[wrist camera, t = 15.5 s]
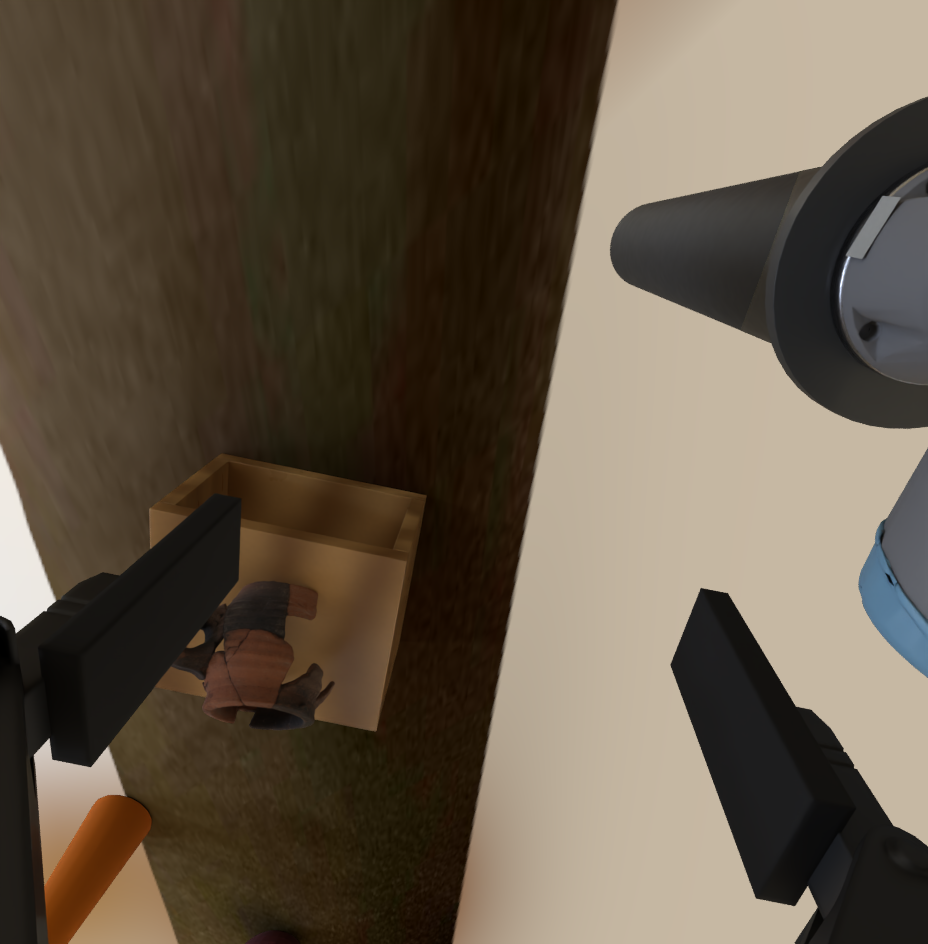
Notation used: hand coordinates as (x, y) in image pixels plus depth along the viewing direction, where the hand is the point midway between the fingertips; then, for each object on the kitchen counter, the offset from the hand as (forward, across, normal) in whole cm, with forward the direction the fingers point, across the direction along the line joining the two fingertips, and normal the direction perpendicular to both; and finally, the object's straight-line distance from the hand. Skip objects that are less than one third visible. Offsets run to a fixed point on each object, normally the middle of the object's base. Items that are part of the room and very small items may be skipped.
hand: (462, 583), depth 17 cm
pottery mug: (+20, -13, -20) cm, 31 cm away
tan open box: (+31, -13, -20) cm, 39 cm away
